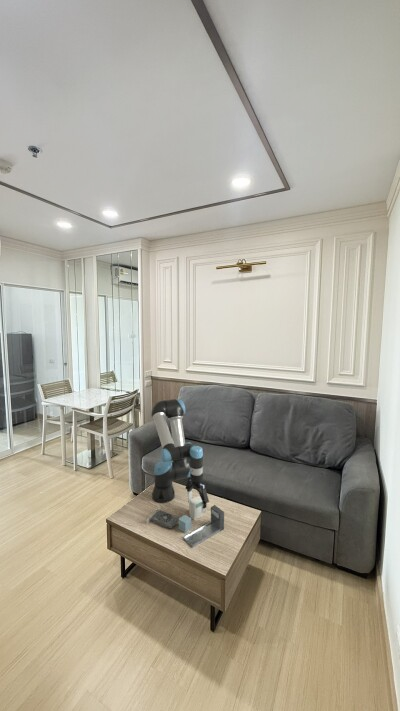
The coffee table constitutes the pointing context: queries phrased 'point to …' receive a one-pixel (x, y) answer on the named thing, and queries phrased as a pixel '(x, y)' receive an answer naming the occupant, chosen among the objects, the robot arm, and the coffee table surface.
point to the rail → (207, 528)
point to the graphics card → (163, 518)
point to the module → (195, 507)
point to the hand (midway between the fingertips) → (196, 506)
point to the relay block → (184, 523)
